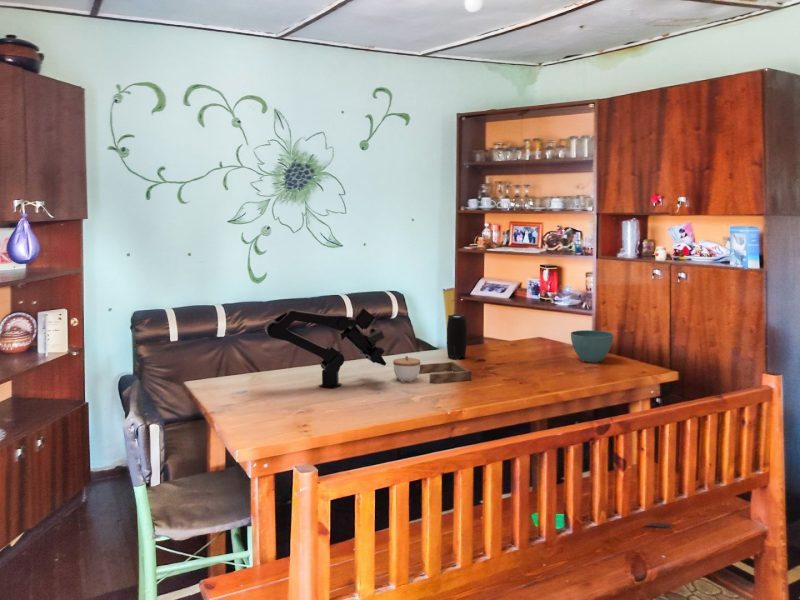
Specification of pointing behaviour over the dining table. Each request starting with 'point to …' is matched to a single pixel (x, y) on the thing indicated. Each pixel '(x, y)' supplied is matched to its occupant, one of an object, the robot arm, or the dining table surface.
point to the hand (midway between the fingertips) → (385, 364)
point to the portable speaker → (456, 336)
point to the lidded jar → (406, 368)
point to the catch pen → (456, 375)
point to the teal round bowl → (591, 344)
